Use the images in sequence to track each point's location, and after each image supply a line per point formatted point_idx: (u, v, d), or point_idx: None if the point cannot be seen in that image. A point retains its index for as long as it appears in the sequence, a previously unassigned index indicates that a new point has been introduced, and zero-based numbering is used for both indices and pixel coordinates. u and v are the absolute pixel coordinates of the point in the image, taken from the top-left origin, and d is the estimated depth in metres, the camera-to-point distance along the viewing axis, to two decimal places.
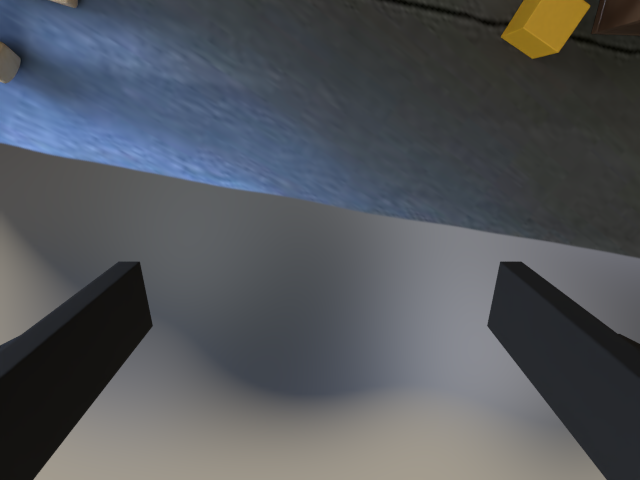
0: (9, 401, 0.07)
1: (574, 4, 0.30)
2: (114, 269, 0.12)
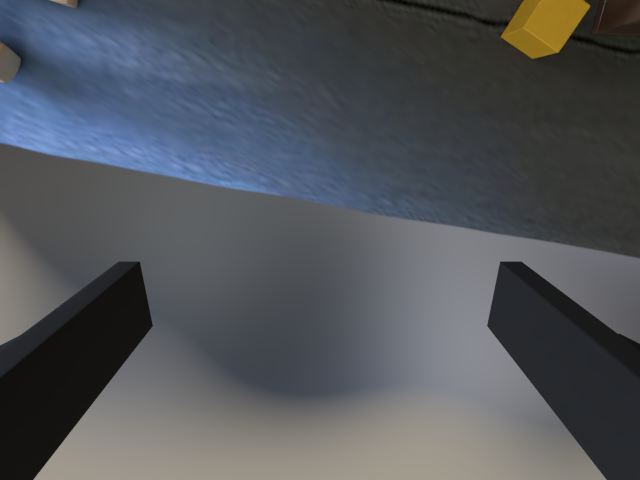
0: (9, 401, 0.07)
1: (574, 4, 0.30)
2: (114, 269, 0.12)
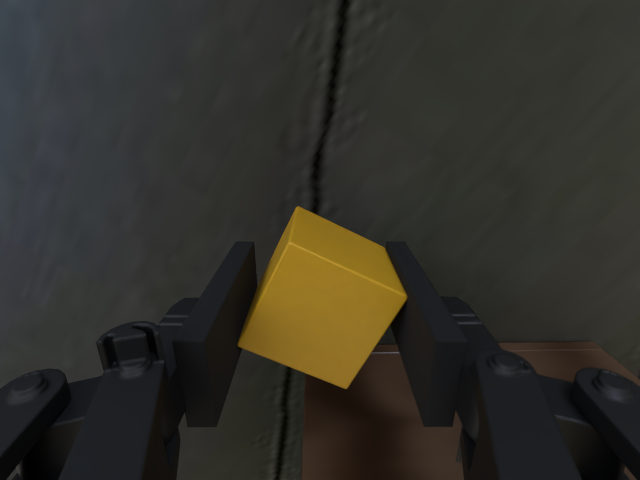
0: (216, 340, 0.09)
1: (349, 355, 0.11)
2: (237, 248, 0.14)
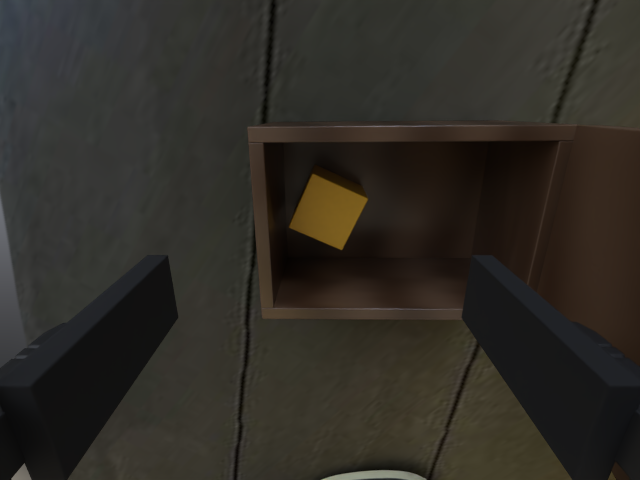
0: (65, 380, 0.08)
1: (342, 230, 0.24)
2: (144, 262, 0.12)
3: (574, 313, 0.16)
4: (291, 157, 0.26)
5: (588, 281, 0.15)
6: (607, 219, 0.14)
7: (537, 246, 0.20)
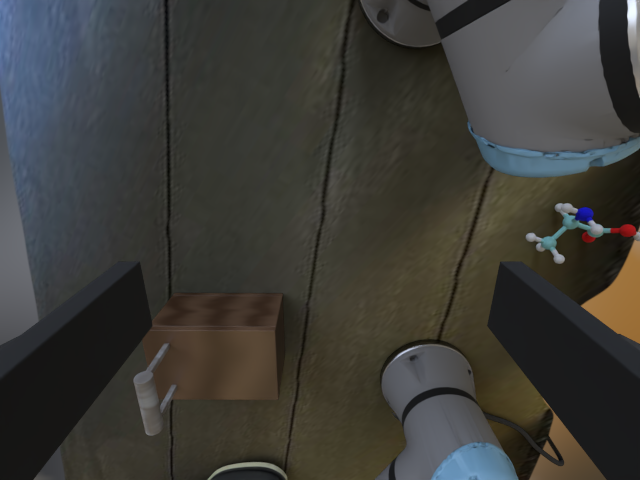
0: (9, 401, 0.07)
1: None
2: (113, 269, 0.12)
3: None
4: None
5: None
6: None
7: None
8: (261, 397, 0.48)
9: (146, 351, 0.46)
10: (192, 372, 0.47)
